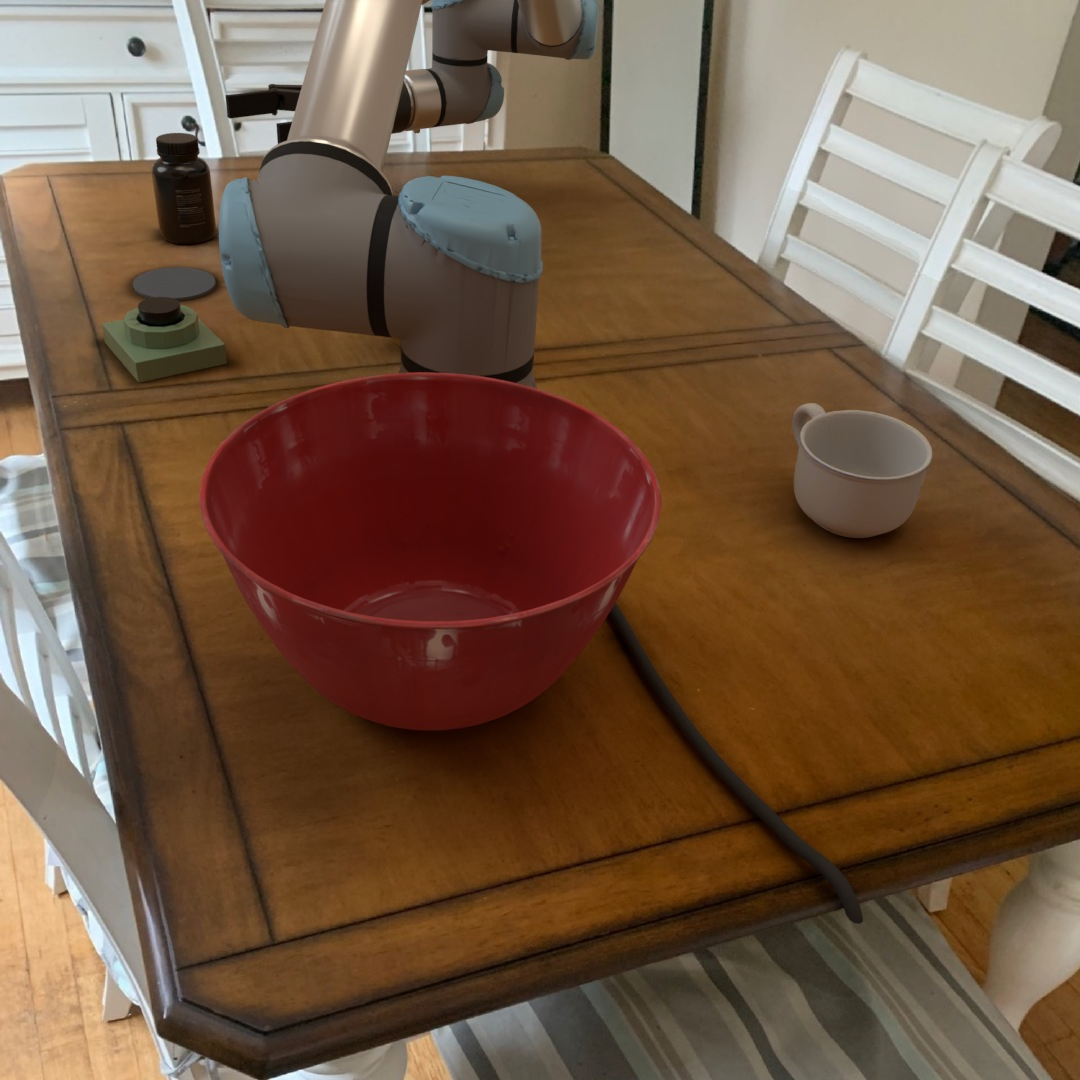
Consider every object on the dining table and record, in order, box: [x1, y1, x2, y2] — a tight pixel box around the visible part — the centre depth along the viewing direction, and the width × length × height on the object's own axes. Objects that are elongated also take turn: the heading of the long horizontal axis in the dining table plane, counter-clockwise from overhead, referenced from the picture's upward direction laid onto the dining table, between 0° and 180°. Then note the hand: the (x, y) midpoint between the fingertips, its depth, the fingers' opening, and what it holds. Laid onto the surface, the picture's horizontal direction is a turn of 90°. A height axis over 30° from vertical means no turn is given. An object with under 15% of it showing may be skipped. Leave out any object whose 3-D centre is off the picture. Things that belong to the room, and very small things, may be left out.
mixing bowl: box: [198, 372, 662, 731], centre depth 75 cm, size 28×28×16 cm
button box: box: [101, 304, 228, 384], centre depth 114 cm, size 10×9×4 cm
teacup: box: [791, 402, 933, 539], centre depth 97 cm, size 14×11×8 cm
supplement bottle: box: [150, 132, 217, 245], centre depth 138 cm, size 7×7×12 cm
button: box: [137, 297, 182, 327], centre depth 112 cm, size 4×4×2 cm
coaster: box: [132, 266, 217, 302], centre depth 128 cm, size 9×9×1 cm
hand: (252, 120), depth 139 cm, fingers open, 13 cm apart
